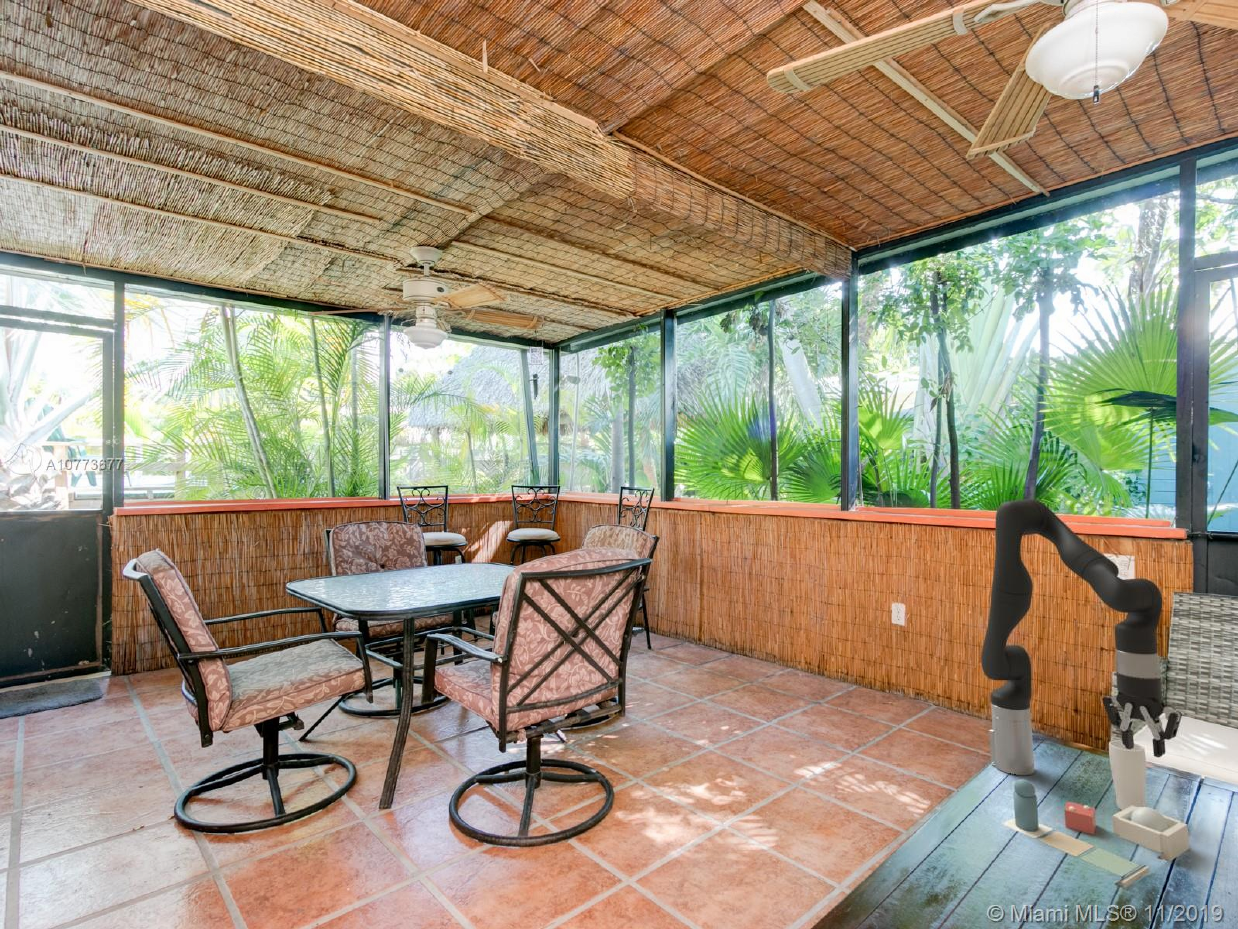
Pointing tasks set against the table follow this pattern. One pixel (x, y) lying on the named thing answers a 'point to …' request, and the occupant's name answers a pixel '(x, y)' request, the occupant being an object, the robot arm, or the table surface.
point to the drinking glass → (1128, 774)
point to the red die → (1080, 817)
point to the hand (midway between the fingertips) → (1143, 751)
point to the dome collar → (1153, 834)
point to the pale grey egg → (1149, 818)
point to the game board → (1095, 857)
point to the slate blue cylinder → (1025, 806)
